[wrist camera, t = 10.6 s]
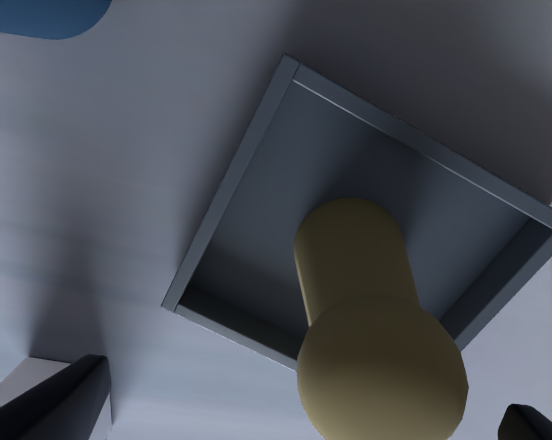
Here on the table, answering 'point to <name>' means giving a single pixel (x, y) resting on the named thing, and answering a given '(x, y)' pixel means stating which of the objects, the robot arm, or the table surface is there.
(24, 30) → the soda can
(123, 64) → the table surface
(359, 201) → the olive game pawn
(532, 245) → the grey tray
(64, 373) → the robot arm
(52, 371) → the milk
